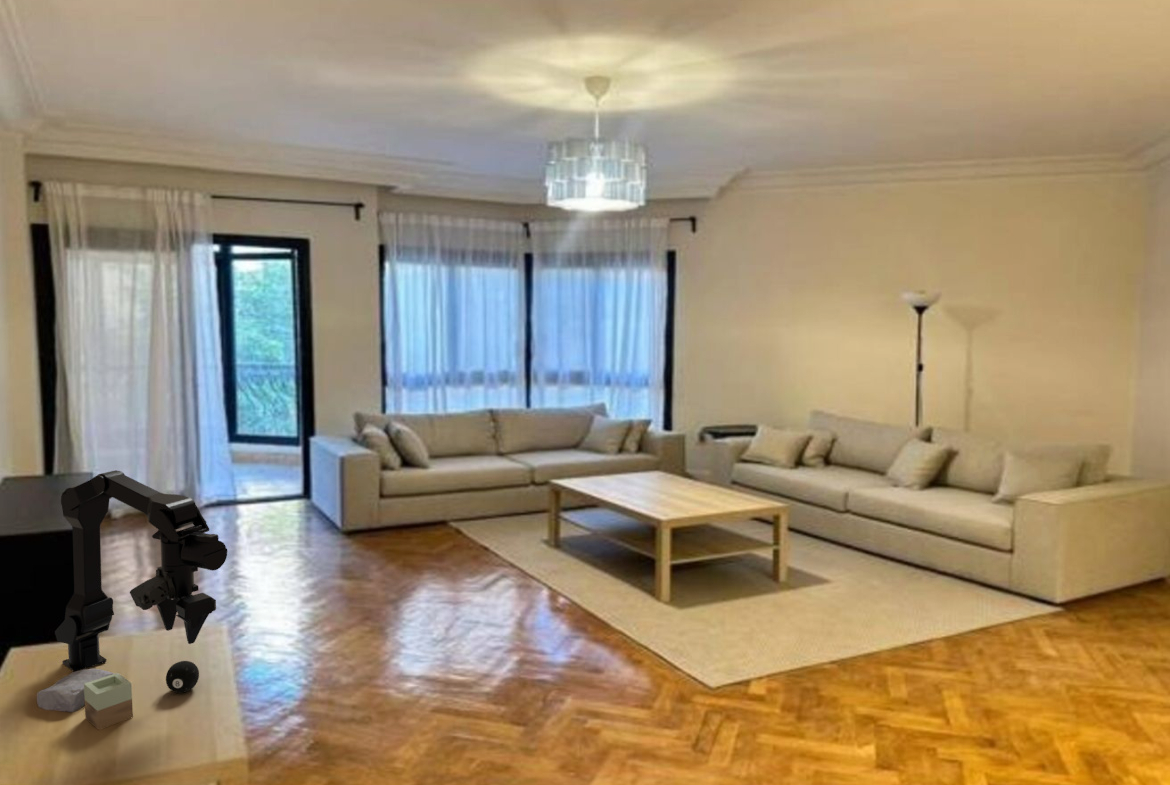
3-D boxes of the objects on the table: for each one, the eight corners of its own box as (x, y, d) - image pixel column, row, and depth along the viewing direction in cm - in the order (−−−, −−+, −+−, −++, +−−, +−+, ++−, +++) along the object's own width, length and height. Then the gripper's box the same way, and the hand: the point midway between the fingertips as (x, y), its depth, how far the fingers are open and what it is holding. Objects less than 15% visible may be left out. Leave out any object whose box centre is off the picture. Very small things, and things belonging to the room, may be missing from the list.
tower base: (85, 719, 156) (84, 699, 156) (119, 707, 161) (118, 687, 160) (98, 730, 153) (97, 710, 152) (132, 717, 157) (132, 698, 157)
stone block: (32, 717, 160) (75, 714, 157) (27, 693, 159) (70, 689, 157) (81, 690, 171) (122, 687, 169) (76, 667, 171) (117, 664, 169)
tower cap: (84, 699, 156) (83, 683, 155) (118, 688, 160) (117, 672, 160) (97, 710, 152) (96, 694, 151) (131, 698, 156) (131, 682, 156)
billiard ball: (203, 682, 171) (202, 655, 170) (193, 697, 165) (192, 669, 164) (172, 683, 170) (171, 656, 169) (161, 698, 164) (160, 670, 164)
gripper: (113, 560, 163) (117, 635, 165) (157, 584, 152) (160, 664, 154) (170, 547, 172) (173, 619, 174) (216, 569, 161) (218, 645, 163)
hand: (180, 636), depth 166 cm, fingers open, 9 cm apart
